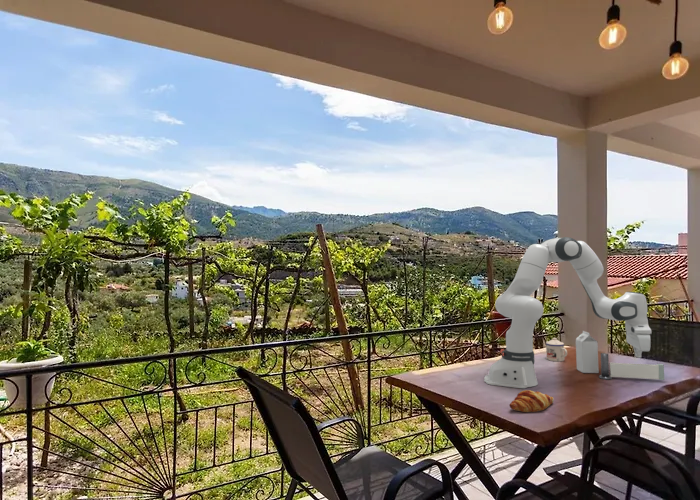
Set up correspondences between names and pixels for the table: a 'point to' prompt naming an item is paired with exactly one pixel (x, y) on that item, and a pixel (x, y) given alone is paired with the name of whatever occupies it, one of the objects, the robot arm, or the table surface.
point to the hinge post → (605, 367)
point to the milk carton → (587, 353)
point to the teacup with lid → (555, 350)
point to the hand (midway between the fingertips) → (638, 357)
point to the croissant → (531, 401)
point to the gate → (637, 371)
